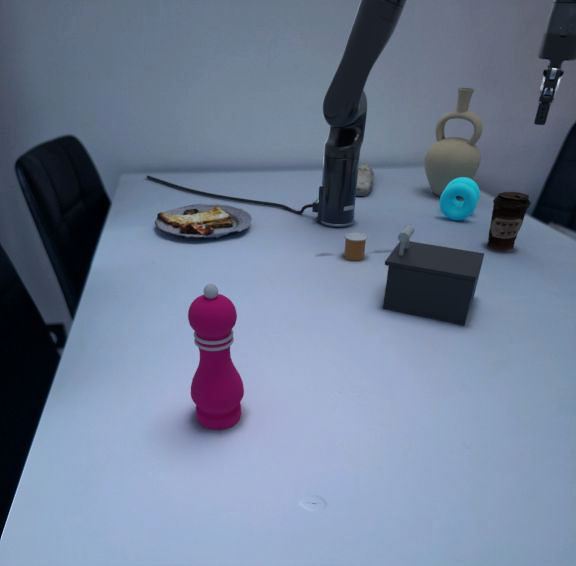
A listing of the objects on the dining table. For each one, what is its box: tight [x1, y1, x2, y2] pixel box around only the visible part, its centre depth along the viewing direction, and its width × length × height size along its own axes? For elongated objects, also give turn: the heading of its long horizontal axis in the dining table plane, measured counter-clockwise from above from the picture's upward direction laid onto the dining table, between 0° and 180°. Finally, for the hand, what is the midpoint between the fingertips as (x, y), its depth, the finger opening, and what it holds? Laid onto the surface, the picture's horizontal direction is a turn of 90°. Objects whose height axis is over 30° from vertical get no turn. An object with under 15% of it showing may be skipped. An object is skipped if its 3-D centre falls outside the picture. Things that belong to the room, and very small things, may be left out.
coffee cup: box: [486, 191, 532, 253], centre depth 128 cm, size 9×8×13 cm
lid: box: [384, 224, 485, 281], centre depth 99 cm, size 16×13×5 cm
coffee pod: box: [344, 231, 368, 262], centre depth 124 cm, size 5×5×5 cm
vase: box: [424, 87, 484, 197], centre depth 162 cm, size 17×17×30 cm
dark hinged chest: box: [382, 259, 484, 326], centre depth 103 cm, size 16×13×9 cm
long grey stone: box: [356, 161, 375, 197], centre depth 179 cm, size 35×5×10 cm
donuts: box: [439, 177, 481, 221], centre depth 150 cm, size 10×10×10 cm
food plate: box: [154, 203, 253, 239], centre depth 139 cm, size 25×23×4 cm
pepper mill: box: [187, 283, 245, 430], centre depth 69 cm, size 7×7×20 cm
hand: (539, 121), depth 115 cm, fingers open, 8 cm apart
